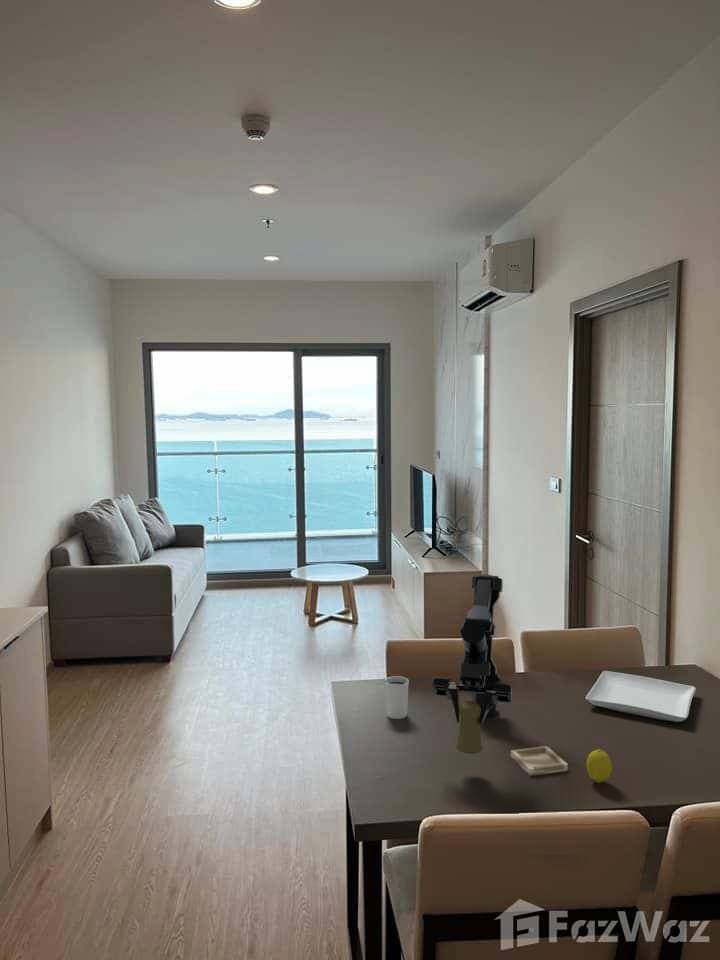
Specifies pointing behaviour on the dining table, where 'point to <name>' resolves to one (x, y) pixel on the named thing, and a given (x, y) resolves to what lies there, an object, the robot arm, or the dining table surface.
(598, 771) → the lemon
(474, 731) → the olive green cylinder
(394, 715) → the drinking glass
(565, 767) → the holder
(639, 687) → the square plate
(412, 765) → the dining table surface
